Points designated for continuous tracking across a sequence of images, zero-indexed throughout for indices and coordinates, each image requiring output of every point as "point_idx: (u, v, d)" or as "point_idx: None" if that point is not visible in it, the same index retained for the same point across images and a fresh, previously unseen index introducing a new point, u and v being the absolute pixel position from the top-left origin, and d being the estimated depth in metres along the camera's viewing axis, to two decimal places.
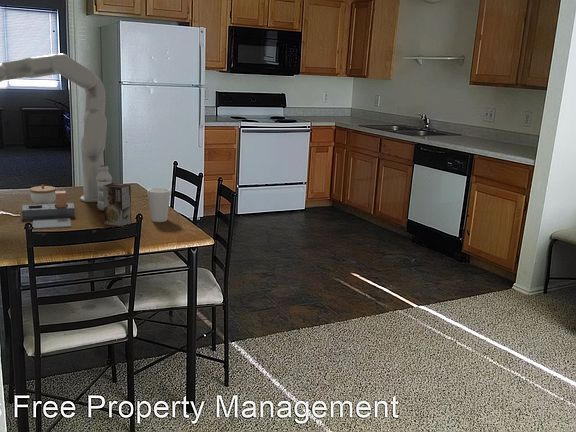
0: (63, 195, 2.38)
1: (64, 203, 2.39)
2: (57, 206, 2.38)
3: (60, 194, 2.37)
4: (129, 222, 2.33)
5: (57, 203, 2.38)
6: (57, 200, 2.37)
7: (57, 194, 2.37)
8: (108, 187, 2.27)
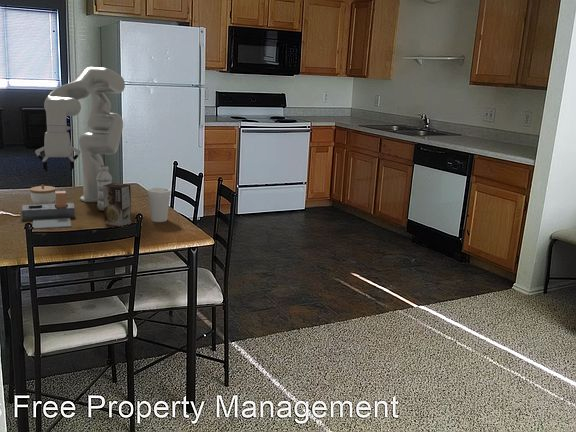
0: (63, 195, 2.38)
1: (64, 203, 2.39)
2: (57, 206, 2.38)
3: (60, 194, 2.37)
4: (129, 222, 2.33)
5: (57, 203, 2.38)
6: (57, 200, 2.37)
7: (57, 194, 2.37)
8: (108, 187, 2.27)
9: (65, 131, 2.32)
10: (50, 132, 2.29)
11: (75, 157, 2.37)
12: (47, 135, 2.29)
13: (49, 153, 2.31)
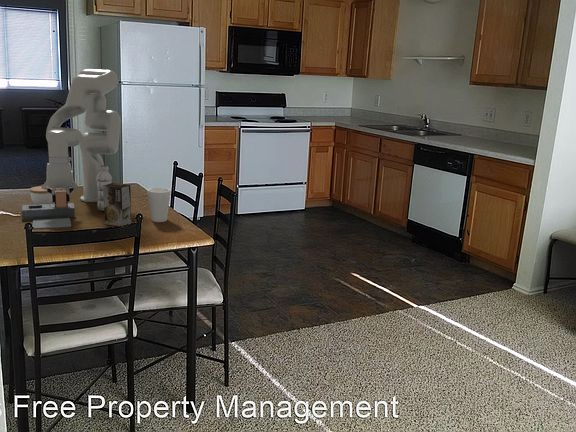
0: (63, 194, 2.38)
1: (64, 202, 2.38)
2: (57, 205, 2.38)
3: (60, 193, 2.37)
4: (129, 222, 2.33)
5: (57, 202, 2.37)
6: (57, 199, 2.37)
7: (57, 193, 2.37)
8: (108, 187, 2.27)
9: (67, 162, 2.35)
10: (52, 163, 2.32)
11: (71, 190, 2.40)
12: (49, 166, 2.33)
13: (51, 184, 2.35)
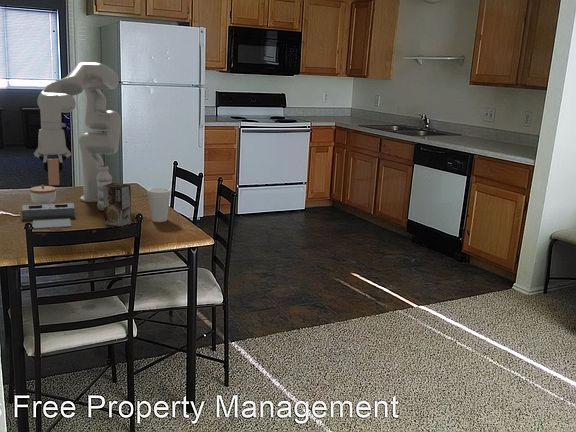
0: (55, 162, 2.27)
1: (56, 171, 2.27)
2: (49, 174, 2.27)
3: (52, 161, 2.26)
4: (129, 222, 2.33)
5: (49, 170, 2.26)
6: (49, 167, 2.26)
7: (49, 161, 2.26)
8: (108, 187, 2.27)
9: (60, 128, 2.24)
10: (44, 129, 2.22)
11: (63, 158, 2.29)
12: (41, 132, 2.22)
13: (43, 151, 2.24)
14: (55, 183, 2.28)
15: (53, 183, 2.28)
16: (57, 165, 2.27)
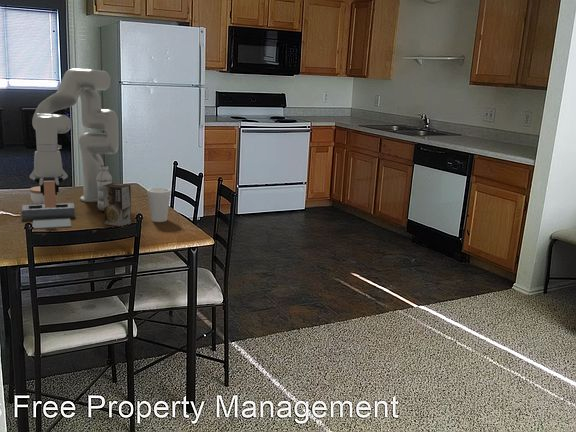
0: (52, 184, 2.22)
1: (53, 193, 2.23)
2: (45, 196, 2.22)
3: (48, 183, 2.22)
4: (129, 222, 2.33)
5: (45, 193, 2.22)
6: (45, 190, 2.22)
7: (45, 183, 2.21)
8: (108, 187, 2.27)
9: (56, 150, 2.20)
10: (40, 151, 2.17)
11: (60, 180, 2.24)
12: (37, 154, 2.18)
13: (39, 173, 2.20)
14: (51, 206, 2.24)
15: (49, 206, 2.24)
16: (53, 187, 2.23)
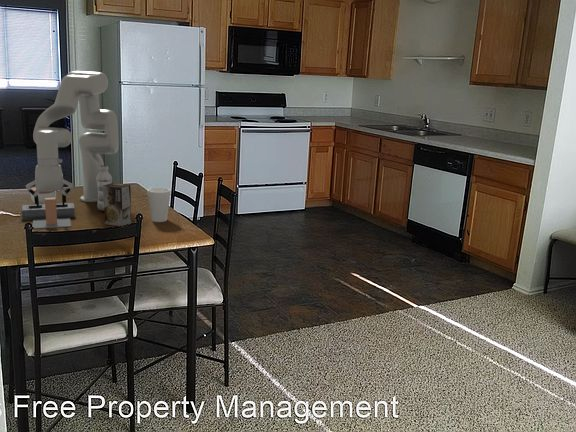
0: (53, 202, 2.24)
1: (54, 210, 2.25)
2: (47, 214, 2.24)
3: (50, 201, 2.24)
4: (129, 222, 2.33)
5: (47, 210, 2.24)
6: (46, 207, 2.24)
7: (46, 201, 2.23)
8: (108, 187, 2.27)
9: (57, 164, 2.22)
10: (41, 165, 2.19)
11: (67, 191, 2.27)
12: (38, 169, 2.19)
13: (40, 187, 2.21)
14: (53, 223, 2.26)
15: (51, 223, 2.26)
16: (54, 205, 2.25)
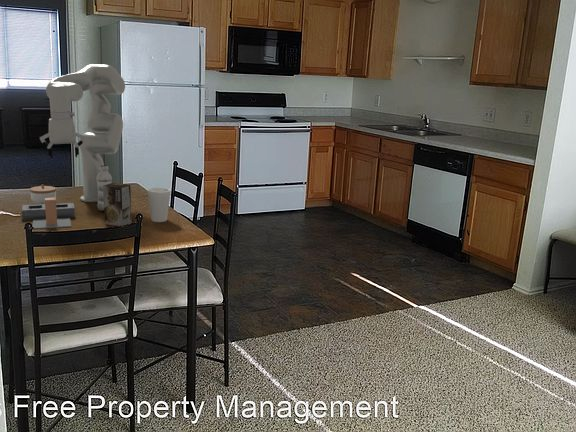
0: (53, 202, 2.24)
1: (54, 210, 2.25)
2: (47, 214, 2.24)
3: (50, 201, 2.23)
4: (129, 222, 2.33)
5: (47, 210, 2.24)
6: (46, 207, 2.24)
7: (46, 201, 2.23)
8: (108, 187, 2.27)
9: (69, 117, 2.31)
10: (54, 119, 2.29)
11: (80, 143, 2.37)
12: (51, 122, 2.29)
13: (54, 140, 2.31)
14: (53, 223, 2.26)
15: (51, 223, 2.26)
16: (54, 205, 2.25)
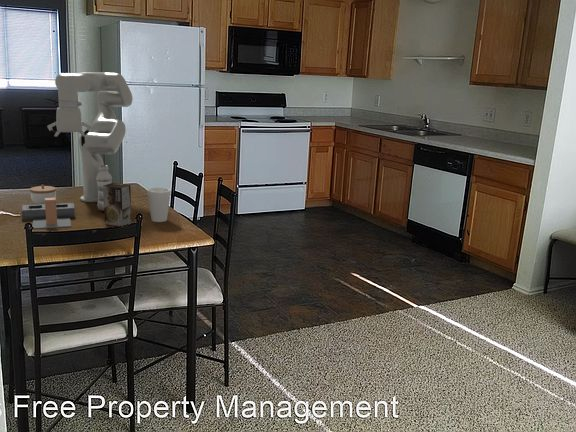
0: (53, 202, 2.24)
1: (54, 210, 2.25)
2: (47, 214, 2.24)
3: (50, 201, 2.23)
4: (129, 222, 2.33)
5: (47, 210, 2.24)
6: (46, 207, 2.24)
7: (46, 201, 2.23)
8: (108, 187, 2.27)
9: (76, 106, 2.38)
10: (62, 107, 2.36)
11: (86, 132, 2.43)
12: (59, 110, 2.36)
13: (61, 128, 2.38)
14: (53, 223, 2.26)
15: (51, 223, 2.26)
16: (54, 205, 2.25)
